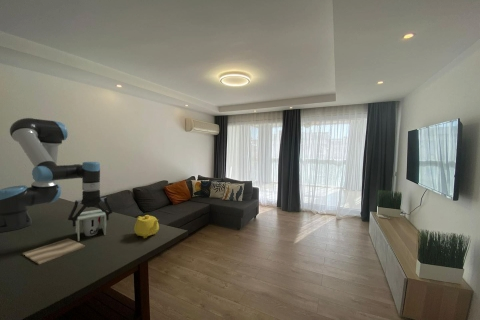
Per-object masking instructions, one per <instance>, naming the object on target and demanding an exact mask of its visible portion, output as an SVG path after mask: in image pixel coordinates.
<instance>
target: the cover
mask: <svg viewBox="0 0 480 320" xmlns="http://www.w3.org/2000/svg"><path fill="white" fill-rule="evenodd" d="M94 217H100V218H101V230H102V232H103V235H104V236H106V235H107V232H106V231H107V221H106V214H105V212H103V211H102V210H101V209H100V208H99V209H95V210H87V211H83V212H82V213H81V214H80V215H79V216H78V218H77V219H78V233H76V234H77V242H79V241H80V220H81V221H82V219H88V218H94Z"/></svg>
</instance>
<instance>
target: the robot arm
mask: <svg viewBox="0 0 480 320" xmlns="http://www.w3.org/2000/svg"><path fill="white" fill-rule="evenodd" d="M9 134H10V136H11V138H12V140H14V141H15V142H17V143H18V144H19V145H20V147H21V148H22V150H23V151H24V153H25V154H26V156H27V158H28V159H29V160H30V162H31V163H32V165H33V168H32V172H31V175H32V179H33V182H31V186H29V187H28V186H27V185H13V186H9V187H4V188H1V189H0V233H3V232H4V233H5V232H11V231H16V230H19V229H23V228H26V227H30V226H31V225H32V224H33V222H32V221H33V219H32V218H31V216H30V214H29V212H28V207H33V206H39V205H44V204H49V203H54V202H56V201H58V200H59V199H60V197H61V194H62V187H61V185H59V184H58V182H57V181H63V180H72V179H82V182H81V183H82V185H81V187H82V189H81V190H82V196H81V200H75V201H74V205H73V207H72V209H71V211H70V212H69V215H68V217H67V220H68V221H72V227H74V228H75V233H76V234H77V233H78V219H77V218H78V216H79V215H80V214H81V213H82V212H84V210H86V208H94V207H97V208H98V209H99V210H100V209H101V210H102V211H103V212H105V214H106V222H107V221H109V215H111V214H113V210H112V208H111V207H110V205H109V203H108V199H107V197H106V196H104V197H101V190H100V188H101V166H100V162H99V161H84V162H82V164H80V163H78V164H66V165H64V164H63V165H57V161H58V151H59V146H60V145H62V144H63V143H62V142H63V141H65V140H67V139H68V129H67V127H66V125H65V124H64V123H63V122H60V121H56V120H47V119H40V118H39V119H38V118H32V117H26V118H24V117H23V118H20V119H18V120H15V121H14V122H13V123H12V124H11V126H10V127H9ZM101 202H103V203H104V204H105V207H106V208H107V209H105V208H104V207H103V206H102V205H101V204H100V203H101ZM81 204H82V206H81V208H80V209H79V210H78V211H77V212H76V210H77V208H78V206H79V205H81ZM107 210H108V211H107ZM75 213H76V214H75ZM74 214H75V215H74Z"/></svg>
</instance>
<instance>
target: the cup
mask: <svg viewBox="0 0 480 320" xmlns="http://www.w3.org/2000/svg"><path fill="white" fill-rule="evenodd" d="M81 222H82V229H83V233H84V235H85V237H92V236H95V235H97V234H98V232H99V229H100V225H101V216H100V217H94V218H88V219H82V220H81Z"/></svg>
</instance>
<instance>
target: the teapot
mask: <svg viewBox="0 0 480 320" xmlns="http://www.w3.org/2000/svg"><path fill="white" fill-rule="evenodd" d="M158 221H159V219H157V217H155V216H153V215H149V214H146V215H144V216H140V215H139V216H137V218H136V222H135V223H134V229H133V231H134V233H135V234H136V235H137V236H138V237H139V236H140V237H142V238H143V239H147V238H148V237H150V236H152V235H153V236H154V235H156V234H157V233H158V232H159V229H160V226H159V222H158Z"/></svg>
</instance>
